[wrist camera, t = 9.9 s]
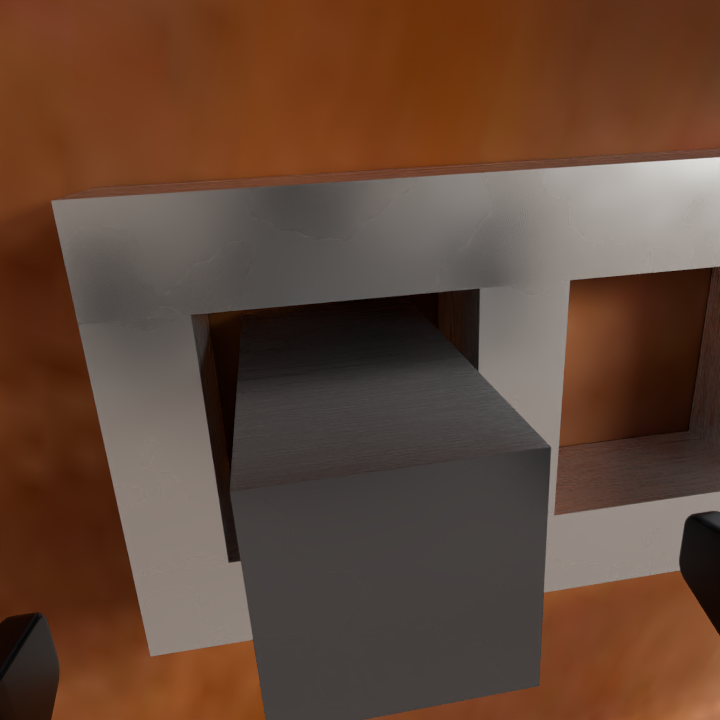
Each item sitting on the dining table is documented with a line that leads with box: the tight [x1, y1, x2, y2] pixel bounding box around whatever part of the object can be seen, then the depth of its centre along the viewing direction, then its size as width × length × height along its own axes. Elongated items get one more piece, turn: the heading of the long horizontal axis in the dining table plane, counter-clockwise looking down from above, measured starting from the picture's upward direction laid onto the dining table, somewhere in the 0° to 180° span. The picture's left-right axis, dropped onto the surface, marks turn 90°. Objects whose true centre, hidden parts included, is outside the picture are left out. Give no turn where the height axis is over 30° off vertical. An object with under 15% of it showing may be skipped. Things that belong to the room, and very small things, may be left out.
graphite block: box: [230, 296, 551, 720], centre depth 12 cm, size 4×4×8 cm
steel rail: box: [51, 148, 720, 656], centre depth 15 cm, size 25×10×3 cm, turn 93°
